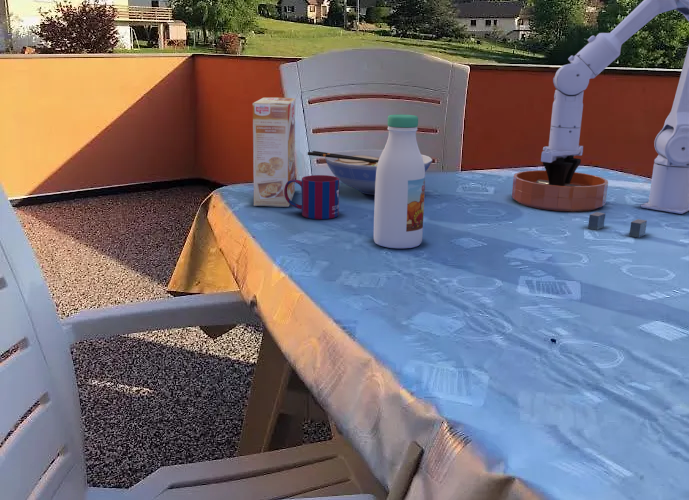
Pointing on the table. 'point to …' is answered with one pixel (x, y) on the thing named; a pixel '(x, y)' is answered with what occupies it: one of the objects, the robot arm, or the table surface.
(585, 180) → the bowl
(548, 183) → the brown rod
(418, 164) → the milk bottle
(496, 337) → the table surface
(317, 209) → the mug
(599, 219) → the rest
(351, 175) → the ramen bowl
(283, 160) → the coffeecake box
